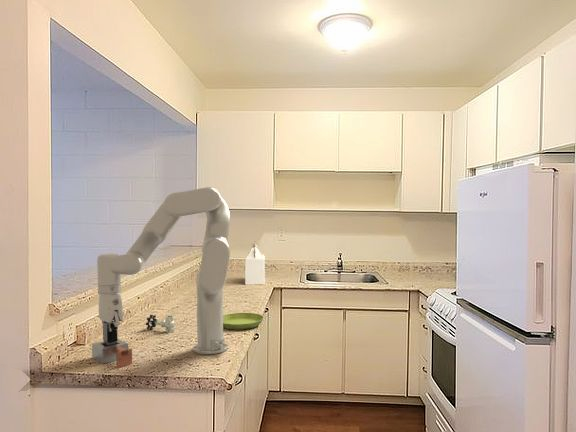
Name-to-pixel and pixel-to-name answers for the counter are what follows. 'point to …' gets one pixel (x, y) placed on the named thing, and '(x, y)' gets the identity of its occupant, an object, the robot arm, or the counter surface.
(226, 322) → the saucer
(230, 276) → the counter surface
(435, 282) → the counter surface
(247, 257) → the gable box
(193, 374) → the counter surface
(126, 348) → the square sleeve with handle
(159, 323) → the valve
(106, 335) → the square peg
